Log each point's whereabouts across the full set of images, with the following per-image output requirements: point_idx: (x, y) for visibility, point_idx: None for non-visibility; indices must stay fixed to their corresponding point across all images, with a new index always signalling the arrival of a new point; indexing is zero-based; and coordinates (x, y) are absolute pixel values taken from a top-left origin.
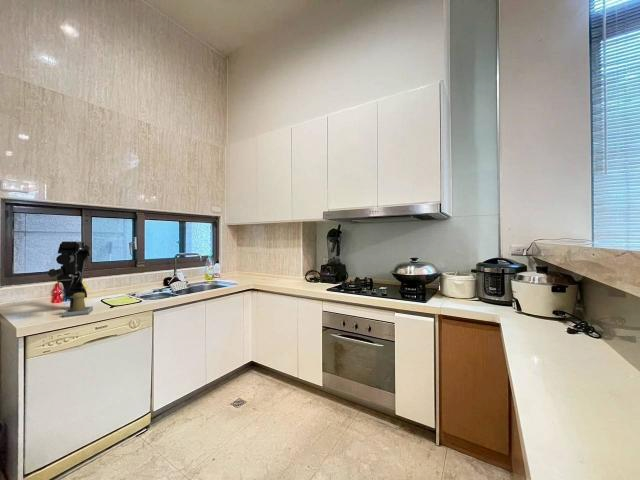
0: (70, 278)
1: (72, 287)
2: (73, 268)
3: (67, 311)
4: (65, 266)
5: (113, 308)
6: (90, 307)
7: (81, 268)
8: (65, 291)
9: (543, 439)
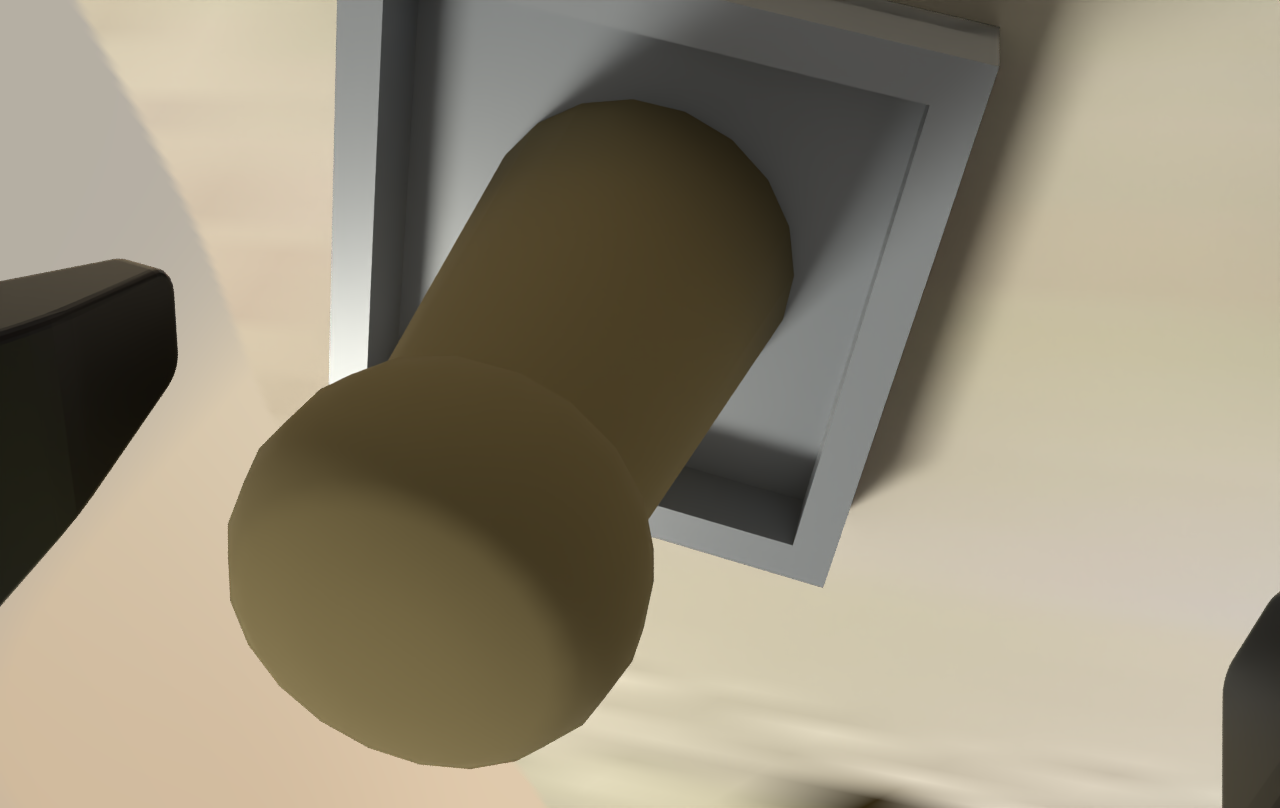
0: None
1: (1272, 756)
2: None
3: (610, 20)
4: None
5: (697, 795)
6: (691, 526)
7: None
8: (88, 274)
9: None
